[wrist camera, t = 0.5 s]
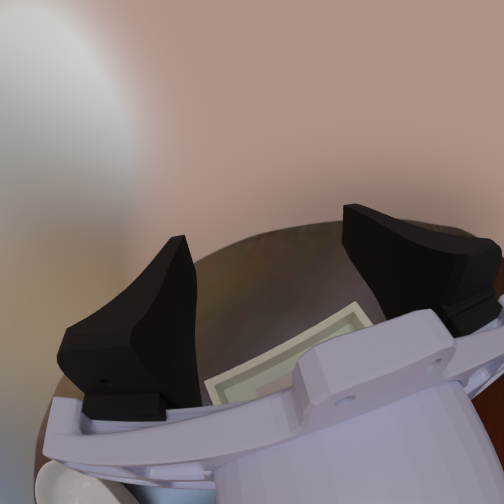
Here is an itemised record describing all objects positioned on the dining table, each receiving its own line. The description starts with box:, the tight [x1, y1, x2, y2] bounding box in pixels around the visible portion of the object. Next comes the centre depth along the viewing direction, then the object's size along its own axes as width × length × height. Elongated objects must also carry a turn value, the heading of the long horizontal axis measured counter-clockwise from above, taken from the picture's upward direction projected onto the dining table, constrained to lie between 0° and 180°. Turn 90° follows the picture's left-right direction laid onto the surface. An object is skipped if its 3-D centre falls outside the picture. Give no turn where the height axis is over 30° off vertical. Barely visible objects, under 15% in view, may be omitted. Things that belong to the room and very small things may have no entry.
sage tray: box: [204, 301, 373, 405], centre depth 22 cm, size 14×17×4 cm
